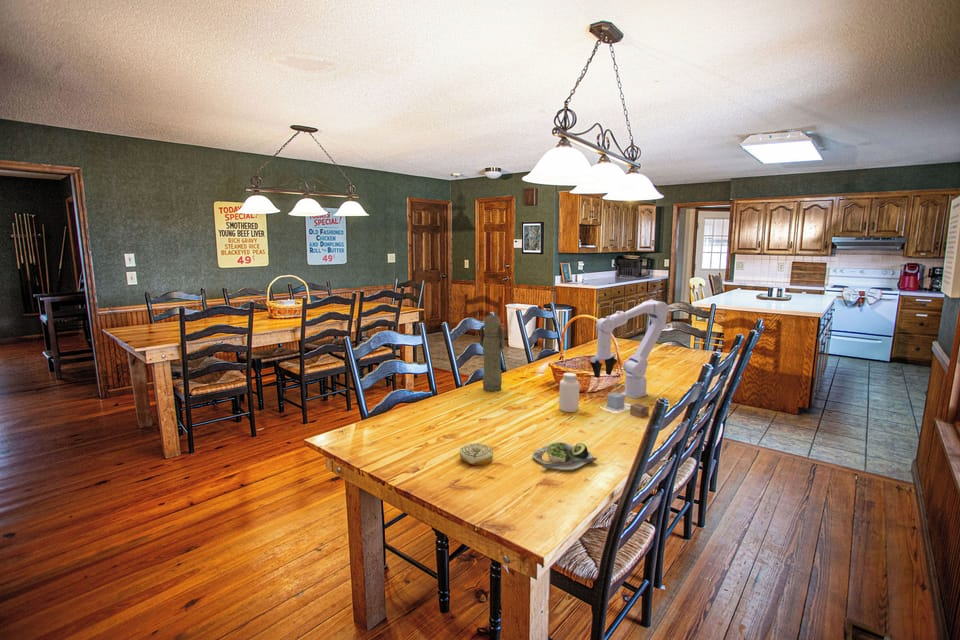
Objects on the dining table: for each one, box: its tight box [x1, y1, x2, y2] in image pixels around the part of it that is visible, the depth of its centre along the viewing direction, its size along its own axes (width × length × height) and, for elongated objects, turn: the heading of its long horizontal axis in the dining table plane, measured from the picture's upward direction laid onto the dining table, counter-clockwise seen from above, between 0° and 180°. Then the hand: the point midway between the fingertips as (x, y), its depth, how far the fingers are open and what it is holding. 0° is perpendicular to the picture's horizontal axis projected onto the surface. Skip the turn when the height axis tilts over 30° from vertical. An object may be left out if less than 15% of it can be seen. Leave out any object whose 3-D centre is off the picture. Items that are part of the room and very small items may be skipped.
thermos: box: [479, 314, 505, 393], centre depth 219 cm, size 9×12×35 cm
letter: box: [596, 402, 631, 415], centre depth 196 cm, size 14×10×1 cm
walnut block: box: [629, 402, 650, 419], centre depth 187 cm, size 5×5×4 cm
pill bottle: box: [558, 372, 580, 413], centre depth 193 cm, size 8×8×15 cm
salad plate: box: [532, 441, 598, 471], centre depth 148 cm, size 19×18×5 cm
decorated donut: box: [459, 443, 494, 466], centre depth 149 cm, size 10×11×4 cm
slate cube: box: [606, 391, 626, 409], centre depth 196 cm, size 5×5×5 cm
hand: (602, 375), depth 207 cm, fingers open, 7 cm apart
